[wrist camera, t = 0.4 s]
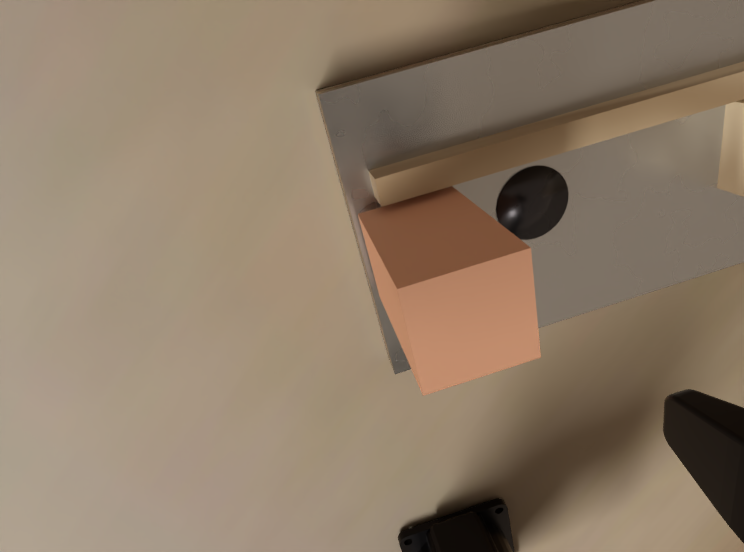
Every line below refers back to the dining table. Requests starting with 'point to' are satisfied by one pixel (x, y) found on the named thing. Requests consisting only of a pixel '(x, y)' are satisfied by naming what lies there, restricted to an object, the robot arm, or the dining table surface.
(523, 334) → the slide leg
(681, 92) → the bar
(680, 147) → the flange plate
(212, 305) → the dining table surface
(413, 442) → the dining table surface
